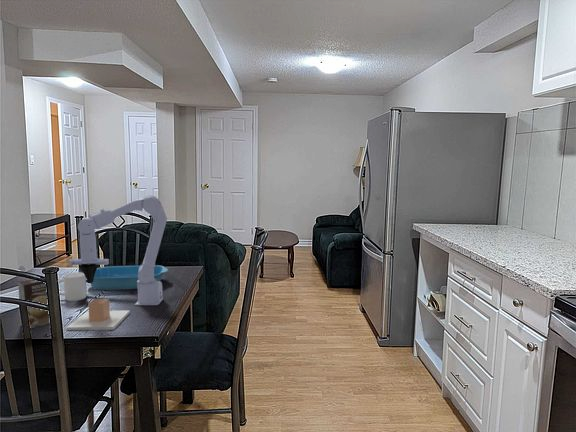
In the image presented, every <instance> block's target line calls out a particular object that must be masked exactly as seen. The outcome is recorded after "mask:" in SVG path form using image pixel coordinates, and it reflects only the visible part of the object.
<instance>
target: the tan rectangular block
mask: <svg viewBox="0 0 576 432" xmlns="http://www.w3.org/2000/svg"><path fill="white" fill-rule="evenodd" d="M110 309H111V308H110V299H109V298H94V299H92V300H91V301H90V302H88V311H89V321H105V320H106V319H107V318H108V317H109V316H110V311H111V310H110Z"/></svg>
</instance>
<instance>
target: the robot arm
mask: <svg viewBox="0 0 576 432" xmlns="http://www.w3.org/2000/svg"><path fill="white" fill-rule="evenodd" d="M143 210H144V211H145V212H146V213H147V214H149V215H150V216H151V218H152V219H153V221H154V222H153V226H152V230H151V234H150V237H149V240H148V243H147V246H146V251H145V254H144V258H143V261H142V263H141V264H140V265H139V266H140V267H139V269H138V279H139V280H138V281H137V287H138V289H137V301H136V303H134V306H158V305H160V303H161V302H162V301H163V300H164V298H163V297H164V296H163V295H164V294H163V283H162V281H161V280H160V281H156V279H155V278H154V266H155V265H156V260H157V257H158V254H159V251H160V250H159V249H160V247H161V243H162V239H163V235H164V231H165V229H166V226H167V225H166V224H167V221H168V217H167V215H166V213H165V209H164V207H163V205H162V202H161V201H160V199H159V198H158V197H156V196H154V195H148V196H145V197H141V198H136V199H134V200H132V201H130V202H128V203H125V204H123V205H121V206H120V207H117V208H114V209H113V210H111V209H108V208H107V209H104V208H102V209H100V210H99V212H96V213H94V214H90V215H88V217H85V218H82V219H81V220H80V221H79V222H78V224H77V229H78V231H79V249H80V250H79V251H80V258H75V259H74V258H73V259H69V260H68V262H69V264H68V265H69V266H78V265H79V266H80V270H81V272H82V273H84V275H85V277H86V283H87V284H90V283H92V282H93V280H94V275H95V272H96V270H97V268H99V265H104V266H108V265H109V264H110V259H109V258H98V254H97V253H98V250H97V238H96V237H97V236H96V230H99V229H102V228H104V227H106V226H109V225H111V224H113V223H115V220H116V218H119V217H121V216H123V215H126V214H128V213H131V212H133V211H138V212H142V211H143Z"/></svg>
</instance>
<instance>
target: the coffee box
mask: <svg viewBox="0 0 576 432" xmlns="http://www.w3.org/2000/svg"><path fill="white" fill-rule="evenodd" d="M17 284H18V298H19V299H23V300H29V301H33V302H40V303H44V304H47V292H46V284H45V283H43V282H39V281H35V280H31V279H25V280H20V281H17ZM19 299H18V300H19ZM28 314H29V322H30V327H31V329H34V328H38V327H44V326H46V325H50V324H49V314H48V311H45V310H40V309H36V308H32V307H28Z"/></svg>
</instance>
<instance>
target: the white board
mask: <svg viewBox="0 0 576 432" xmlns="http://www.w3.org/2000/svg"><path fill="white" fill-rule="evenodd" d="M129 314H131V311H130V310H110V316H109V317H108V318H107V319H106V320H105V321H89V310H87V311H85V313H83V314H82V315H81V316H80V317H78V318H77V319H75V320H74V321H73V322H72V323H70V324H69V325H68V326H66V331H102V330H103V331H104V330H106V331H107V330H108V331H110V330H112V331H113V330H114V329H116V328H117V327H118V326H119V325H120V324H121V323H122V322H123V320H125V319H126V318H127V316H129Z"/></svg>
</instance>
